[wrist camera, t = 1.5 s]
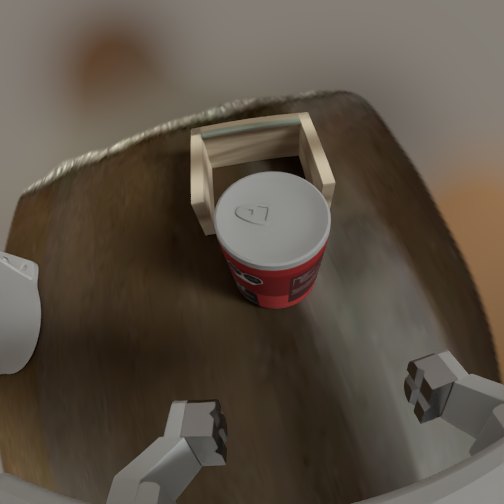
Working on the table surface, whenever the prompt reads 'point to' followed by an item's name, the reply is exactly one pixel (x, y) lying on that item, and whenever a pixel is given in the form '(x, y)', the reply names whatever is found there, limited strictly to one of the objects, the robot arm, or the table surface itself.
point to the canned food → (273, 236)
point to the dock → (254, 155)
